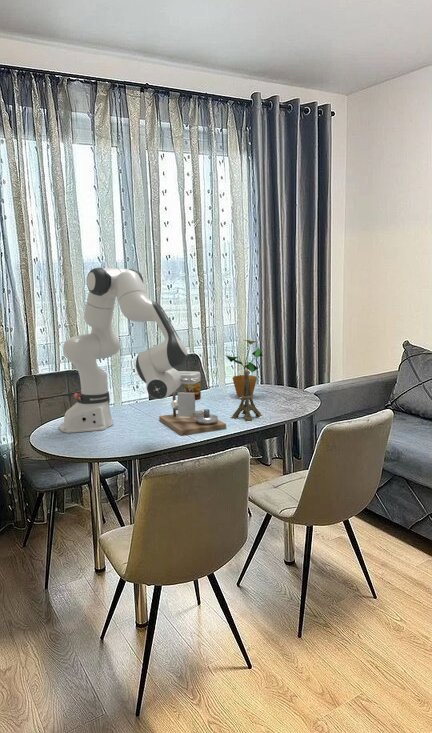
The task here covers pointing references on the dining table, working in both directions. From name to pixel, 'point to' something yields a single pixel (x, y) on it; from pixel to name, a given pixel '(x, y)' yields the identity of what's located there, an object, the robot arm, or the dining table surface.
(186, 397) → the crank handle
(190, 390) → the canned food
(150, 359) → the robot arm
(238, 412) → the eiffel tower
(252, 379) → the potted plant
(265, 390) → the dining table surface
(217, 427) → the stand
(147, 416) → the dining table surface
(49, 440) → the dining table surface
